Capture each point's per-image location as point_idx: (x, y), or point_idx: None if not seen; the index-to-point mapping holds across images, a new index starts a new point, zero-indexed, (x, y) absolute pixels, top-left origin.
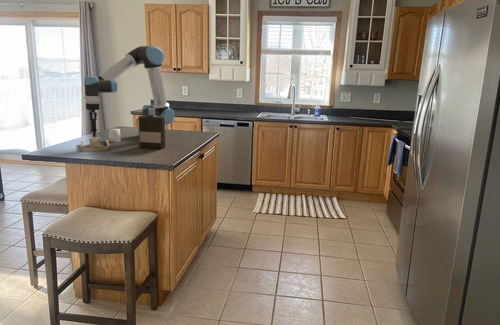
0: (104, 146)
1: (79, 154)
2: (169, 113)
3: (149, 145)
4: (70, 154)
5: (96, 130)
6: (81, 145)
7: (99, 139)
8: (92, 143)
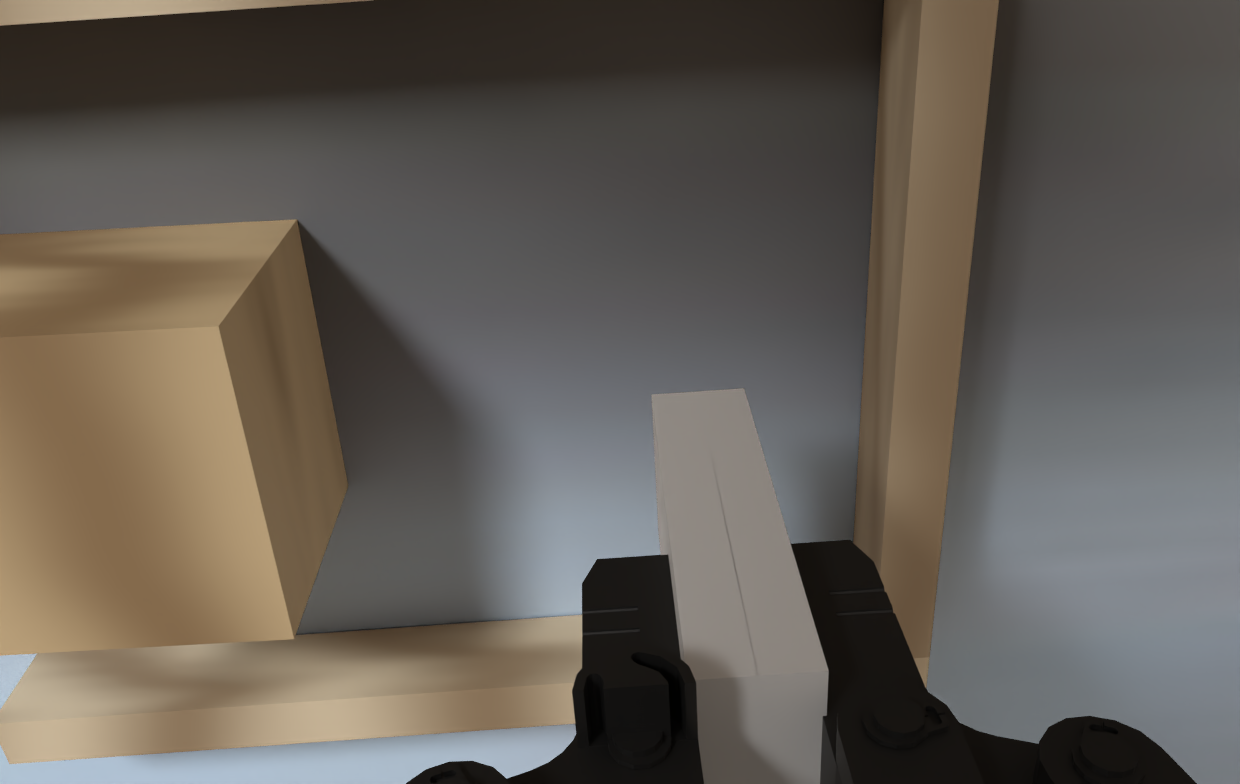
0: (971, 94)
1: (1226, 630)
2: None
3: None
4: None
5: (1125, 728)
6: None
7: (229, 325)
8: (316, 474)
